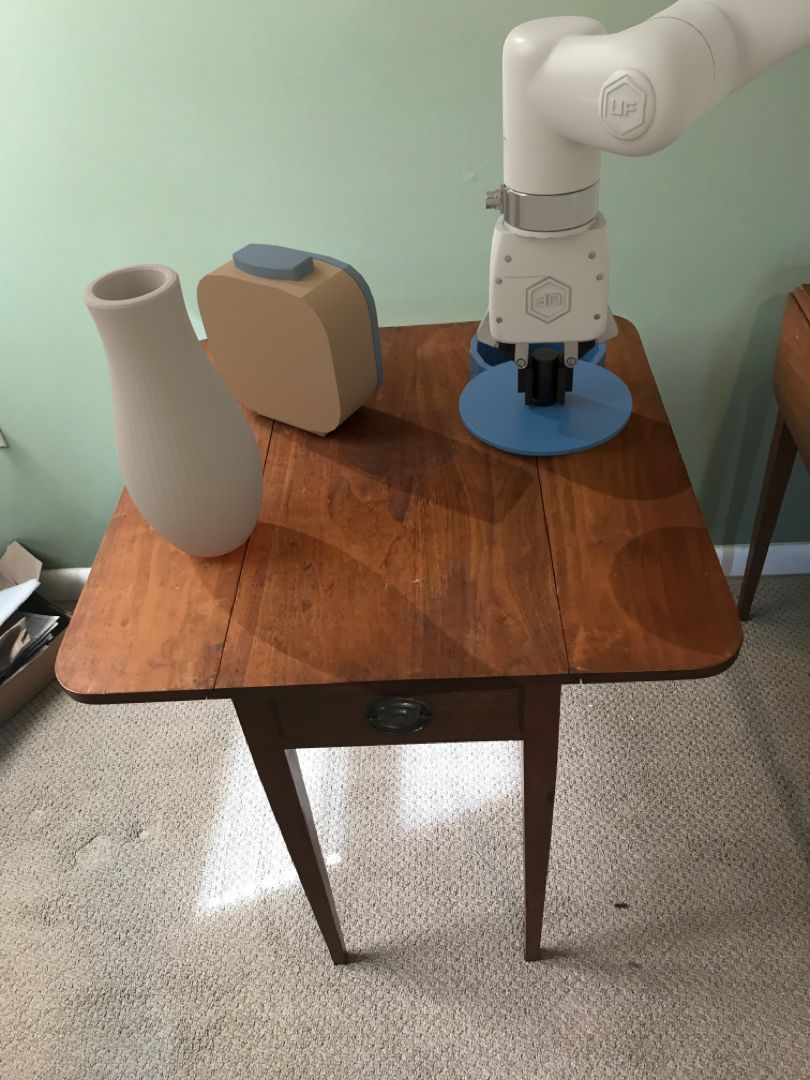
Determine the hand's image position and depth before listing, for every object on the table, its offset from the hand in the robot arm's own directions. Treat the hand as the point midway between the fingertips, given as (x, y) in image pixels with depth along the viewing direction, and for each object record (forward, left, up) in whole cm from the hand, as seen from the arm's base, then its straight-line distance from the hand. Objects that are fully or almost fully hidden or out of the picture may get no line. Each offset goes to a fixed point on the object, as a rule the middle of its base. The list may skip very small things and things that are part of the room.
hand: (544, 395), depth 74 cm
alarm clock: (+30, -20, -15) cm, 39 cm away
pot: (0, -18, -15) cm, 23 cm away
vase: (+35, +5, -15) cm, 39 cm away
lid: (0, 0, -1) cm, 1 cm away
